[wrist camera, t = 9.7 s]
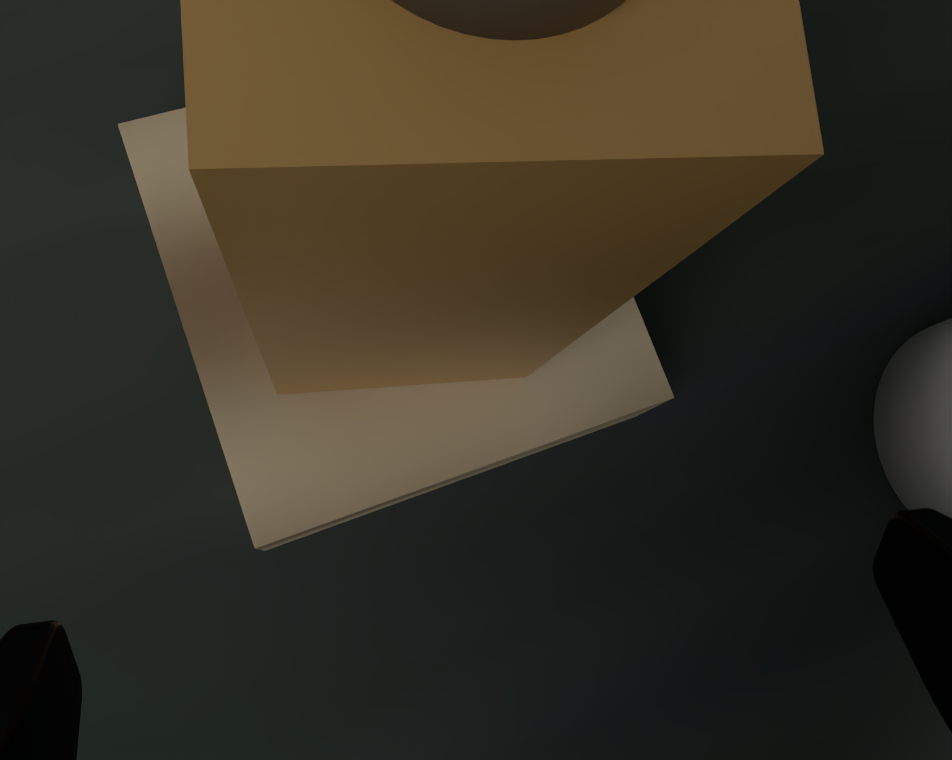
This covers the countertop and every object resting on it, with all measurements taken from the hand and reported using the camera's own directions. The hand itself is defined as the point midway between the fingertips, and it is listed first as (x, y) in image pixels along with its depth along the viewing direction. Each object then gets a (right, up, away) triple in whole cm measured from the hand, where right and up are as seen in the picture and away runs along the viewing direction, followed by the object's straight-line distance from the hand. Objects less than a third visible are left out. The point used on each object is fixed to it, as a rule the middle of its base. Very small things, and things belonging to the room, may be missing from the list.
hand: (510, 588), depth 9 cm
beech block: (-2, +4, +11) cm, 12 cm away
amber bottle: (-2, +5, +8) cm, 10 cm away
